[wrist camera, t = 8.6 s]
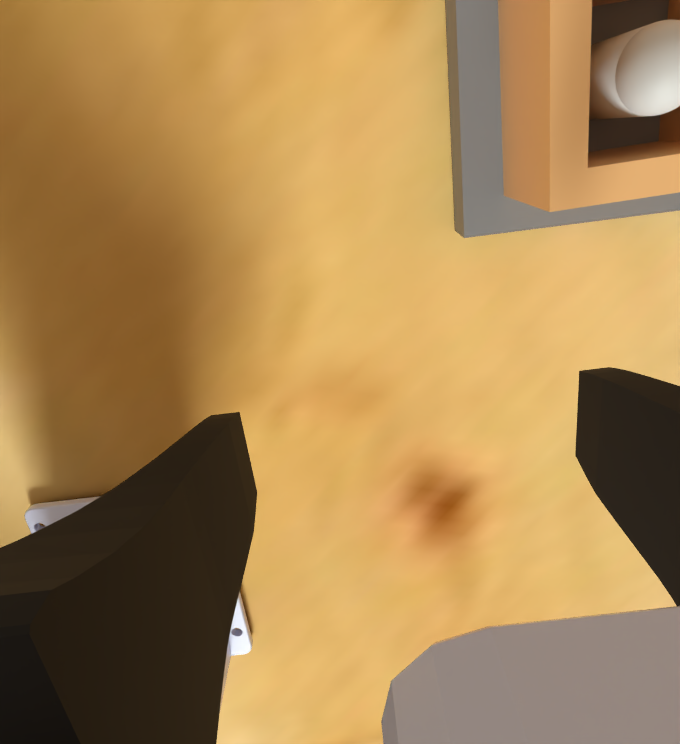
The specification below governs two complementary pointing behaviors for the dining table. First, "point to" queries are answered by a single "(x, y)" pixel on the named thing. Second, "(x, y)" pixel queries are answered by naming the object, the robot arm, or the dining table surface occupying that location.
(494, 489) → the dining table surface
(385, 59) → the dining table surface
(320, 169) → the dining table surface
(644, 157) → the orange loop
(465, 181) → the hook board
